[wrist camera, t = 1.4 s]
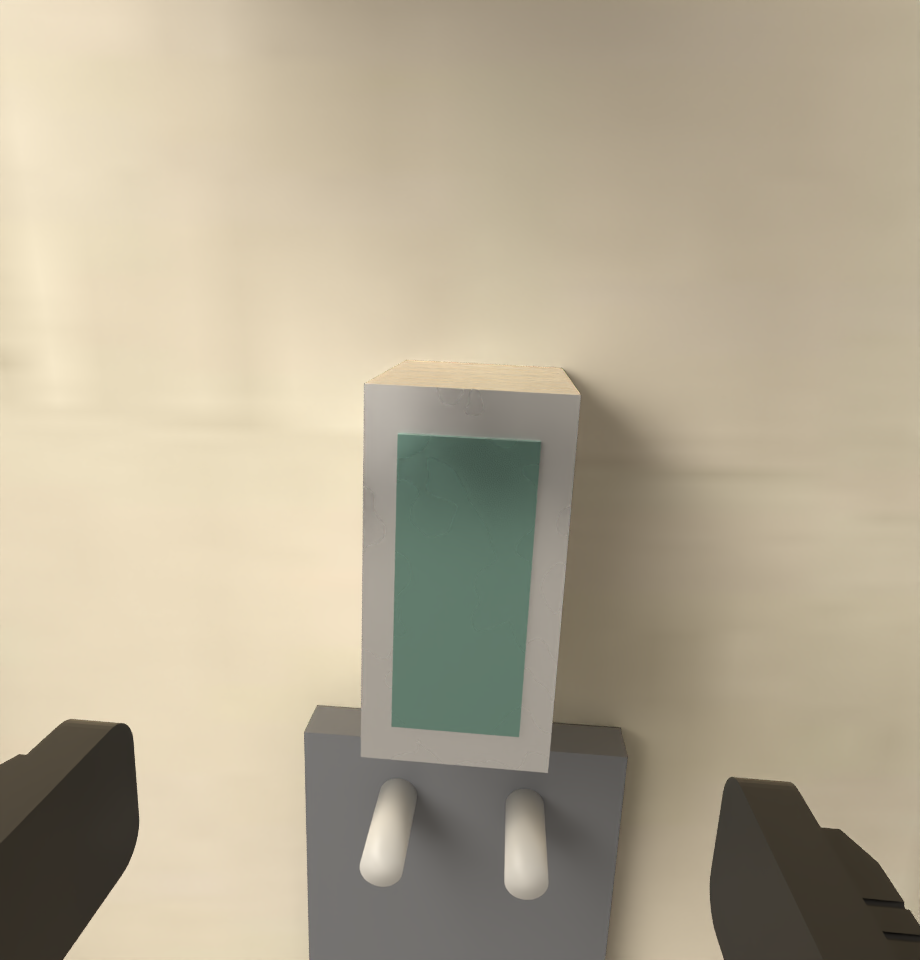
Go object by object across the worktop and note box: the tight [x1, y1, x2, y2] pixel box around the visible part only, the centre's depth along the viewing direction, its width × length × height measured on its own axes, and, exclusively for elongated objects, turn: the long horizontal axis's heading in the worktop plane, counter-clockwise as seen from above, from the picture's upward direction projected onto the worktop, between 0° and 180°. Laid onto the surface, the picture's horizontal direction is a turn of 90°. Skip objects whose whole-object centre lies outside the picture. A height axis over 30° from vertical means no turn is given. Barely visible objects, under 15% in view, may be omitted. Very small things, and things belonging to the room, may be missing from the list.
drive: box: [361, 360, 581, 773], centre depth 18 cm, size 9×4×6 cm, turn 178°
